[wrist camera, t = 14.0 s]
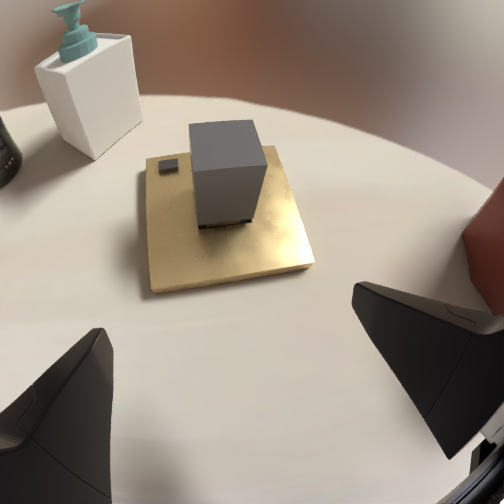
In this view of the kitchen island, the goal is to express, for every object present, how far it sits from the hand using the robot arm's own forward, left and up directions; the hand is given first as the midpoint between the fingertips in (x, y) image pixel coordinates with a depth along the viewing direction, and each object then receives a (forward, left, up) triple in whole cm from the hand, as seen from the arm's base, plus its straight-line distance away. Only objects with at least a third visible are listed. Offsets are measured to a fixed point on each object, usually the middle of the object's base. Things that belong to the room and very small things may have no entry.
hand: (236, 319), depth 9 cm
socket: (+11, -6, -14) cm, 18 cm away
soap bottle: (+31, +1, -14) cm, 34 cm away
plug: (+11, -6, -13) cm, 18 cm away
